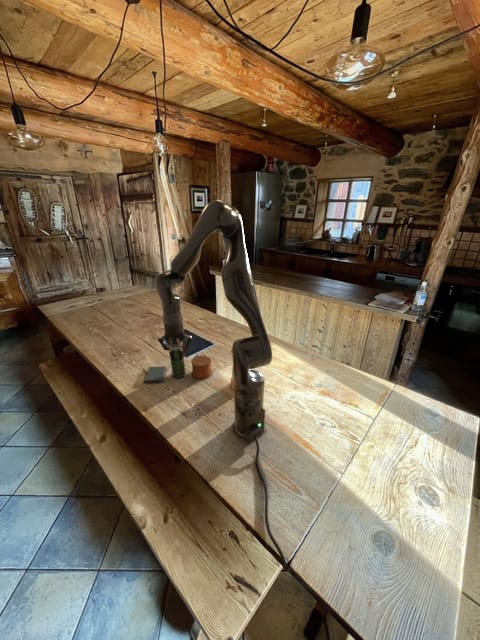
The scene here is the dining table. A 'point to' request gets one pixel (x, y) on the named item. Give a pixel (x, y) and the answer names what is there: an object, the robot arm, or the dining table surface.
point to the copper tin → (201, 367)
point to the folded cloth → (155, 374)
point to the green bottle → (177, 363)
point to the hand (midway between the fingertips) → (177, 357)
